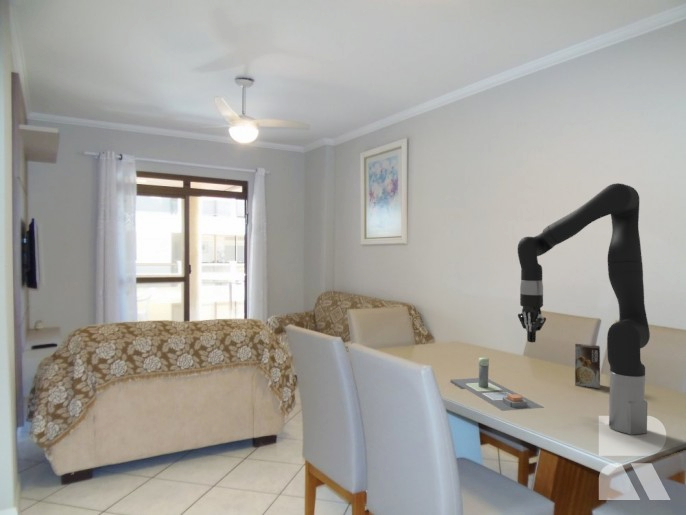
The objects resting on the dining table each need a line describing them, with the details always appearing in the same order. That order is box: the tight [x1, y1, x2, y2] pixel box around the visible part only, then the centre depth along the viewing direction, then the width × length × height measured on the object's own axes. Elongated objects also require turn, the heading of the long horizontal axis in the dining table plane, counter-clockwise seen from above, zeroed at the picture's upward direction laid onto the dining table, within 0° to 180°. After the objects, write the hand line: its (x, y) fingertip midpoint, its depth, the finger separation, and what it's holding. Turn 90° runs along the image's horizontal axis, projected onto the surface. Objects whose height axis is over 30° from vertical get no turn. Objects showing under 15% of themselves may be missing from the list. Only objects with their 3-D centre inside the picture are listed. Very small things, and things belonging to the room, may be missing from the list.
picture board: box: [450, 377, 545, 412], centre depth 177 cm, size 38×16×3 cm, turn 13°
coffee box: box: [574, 343, 601, 389], centre depth 192 cm, size 9×6×16 cm
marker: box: [478, 357, 490, 388], centre depth 184 cm, size 4×4×11 cm
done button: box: [507, 393, 524, 402], centre depth 164 cm, size 4×4×2 cm
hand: (531, 341), depth 167 cm, fingers closed
